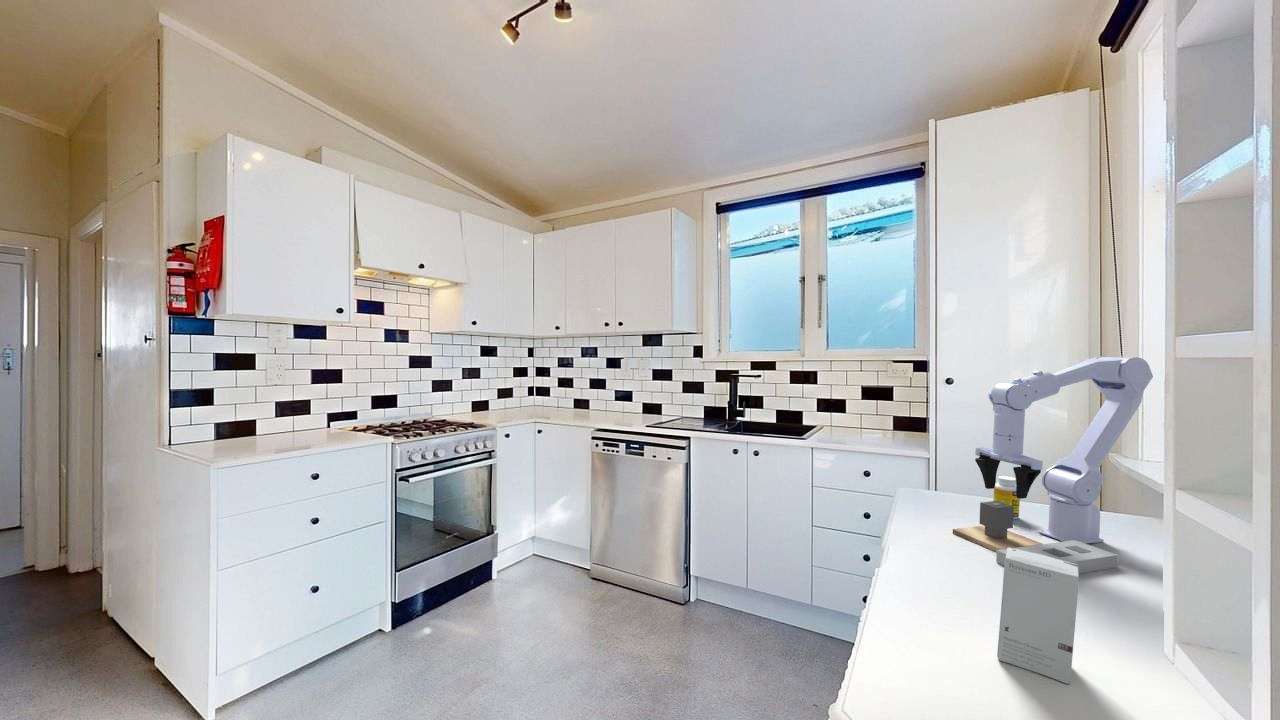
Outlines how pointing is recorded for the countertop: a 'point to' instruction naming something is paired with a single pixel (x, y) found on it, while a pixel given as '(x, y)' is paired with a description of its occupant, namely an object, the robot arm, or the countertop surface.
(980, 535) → the oak board
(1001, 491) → the supplement bottle
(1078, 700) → the countertop surface
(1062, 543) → the power strip
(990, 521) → the block
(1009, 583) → the skincare box
